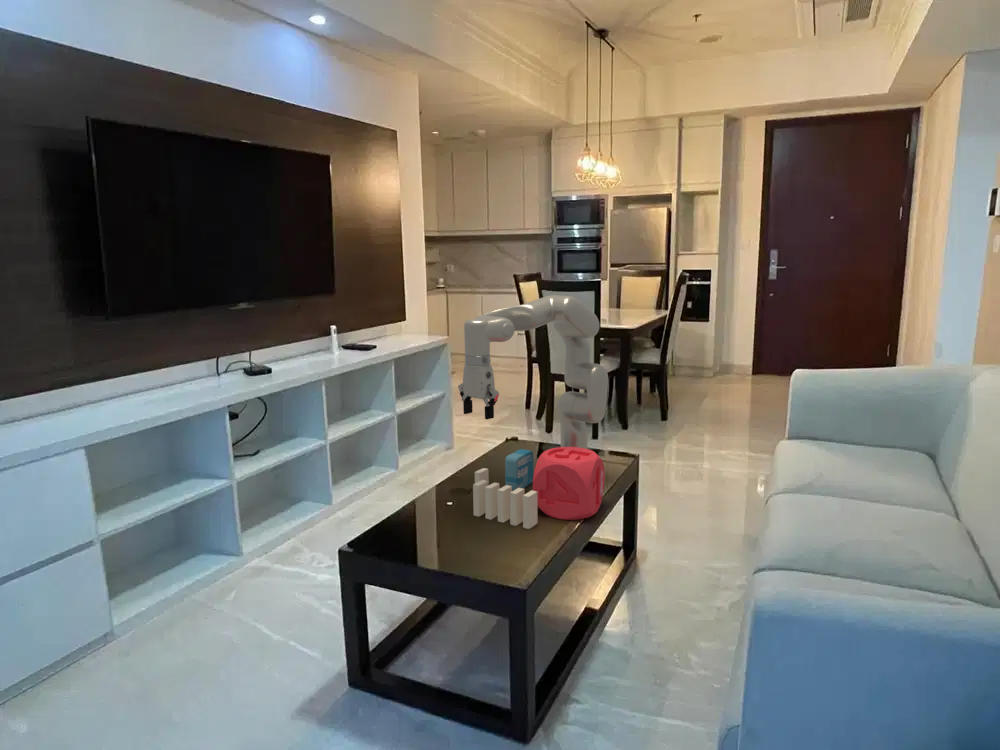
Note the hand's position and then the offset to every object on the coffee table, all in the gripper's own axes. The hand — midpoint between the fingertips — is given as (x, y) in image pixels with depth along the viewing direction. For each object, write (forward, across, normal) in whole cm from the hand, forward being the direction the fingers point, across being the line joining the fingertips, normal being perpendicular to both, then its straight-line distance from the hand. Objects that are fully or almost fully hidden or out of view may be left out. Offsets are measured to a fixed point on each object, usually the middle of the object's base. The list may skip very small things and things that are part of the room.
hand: (478, 415), depth 203 cm
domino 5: (+31, -14, -3) cm, 34 cm away
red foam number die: (+32, -18, -22) cm, 42 cm away
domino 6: (+31, -18, -4) cm, 36 cm away
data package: (+32, +8, -26) cm, 42 cm away
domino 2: (+31, 0, 0) cm, 31 cm away
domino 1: (+31, +8, -8) cm, 33 cm away
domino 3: (+31, -5, -1) cm, 32 cm away
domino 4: (+31, -9, -2) cm, 33 cm away
